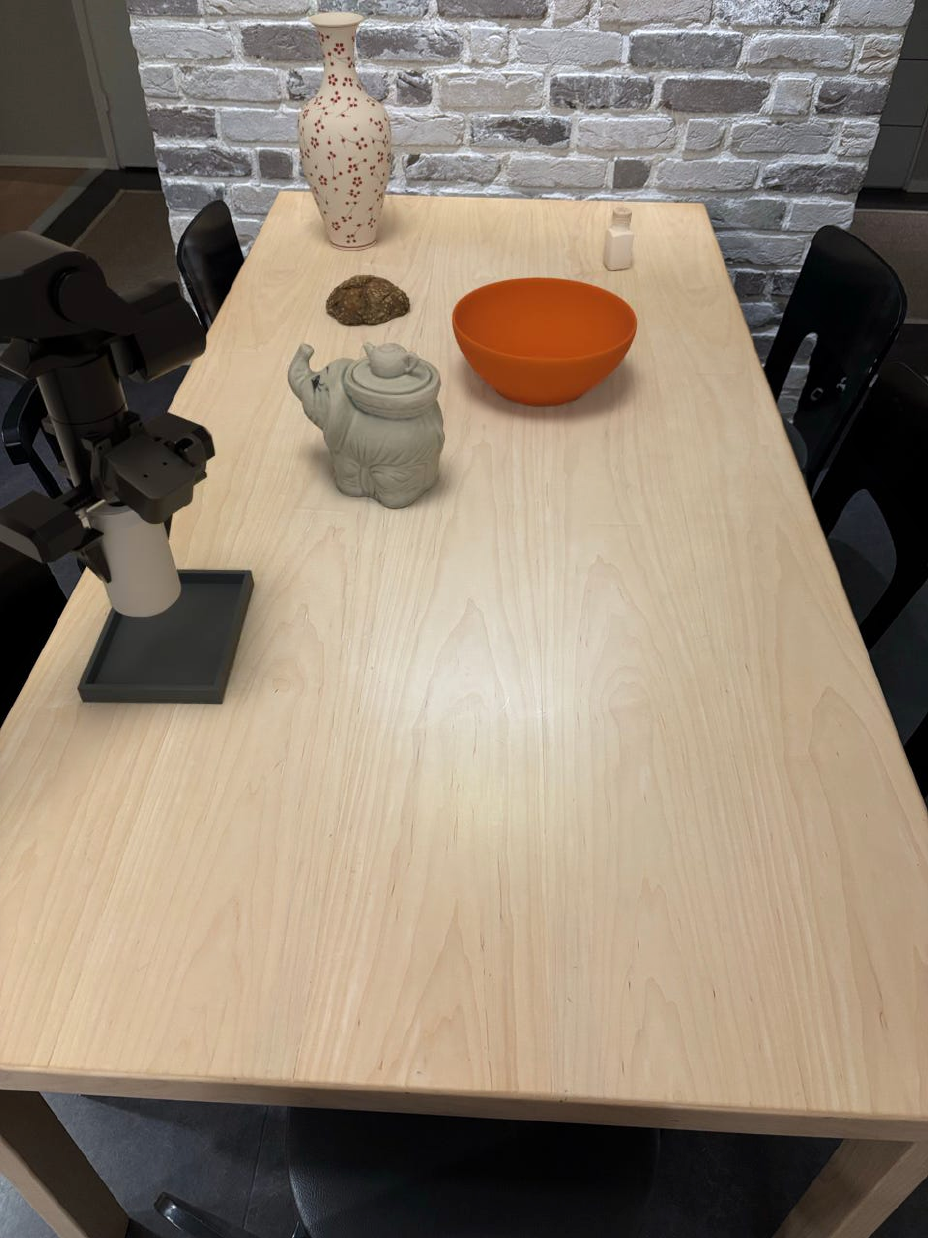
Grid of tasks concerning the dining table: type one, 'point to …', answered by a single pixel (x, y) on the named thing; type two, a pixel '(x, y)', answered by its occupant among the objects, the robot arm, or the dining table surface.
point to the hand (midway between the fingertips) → (135, 560)
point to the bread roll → (367, 300)
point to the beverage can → (135, 560)
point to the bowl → (543, 337)
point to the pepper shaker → (619, 240)
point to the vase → (345, 140)
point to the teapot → (375, 420)
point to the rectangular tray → (172, 645)
